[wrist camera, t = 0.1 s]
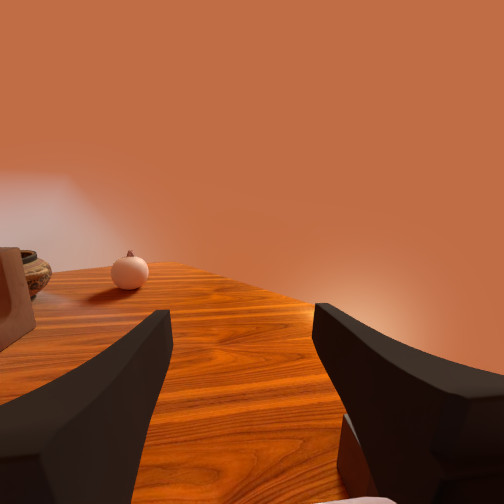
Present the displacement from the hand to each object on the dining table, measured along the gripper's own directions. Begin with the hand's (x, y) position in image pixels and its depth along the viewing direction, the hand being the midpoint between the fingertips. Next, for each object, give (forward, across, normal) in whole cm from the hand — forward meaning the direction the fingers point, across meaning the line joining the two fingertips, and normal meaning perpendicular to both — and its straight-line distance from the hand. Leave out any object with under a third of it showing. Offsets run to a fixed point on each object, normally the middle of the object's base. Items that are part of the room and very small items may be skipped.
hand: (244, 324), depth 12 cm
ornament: (+60, +31, +27) cm, 73 cm away
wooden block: (+34, +45, +25) cm, 62 cm away
